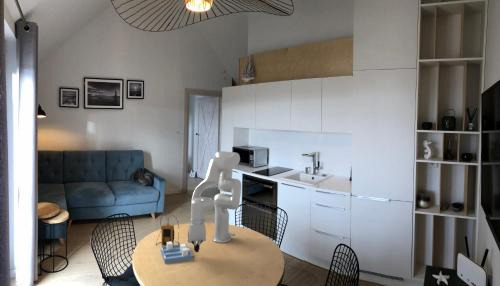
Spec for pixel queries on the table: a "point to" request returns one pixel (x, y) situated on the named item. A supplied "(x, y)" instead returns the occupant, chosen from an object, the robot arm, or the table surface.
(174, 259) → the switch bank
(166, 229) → the multimeter
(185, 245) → the white rectangular block
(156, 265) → the table surface
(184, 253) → the white square block
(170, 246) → the white block
